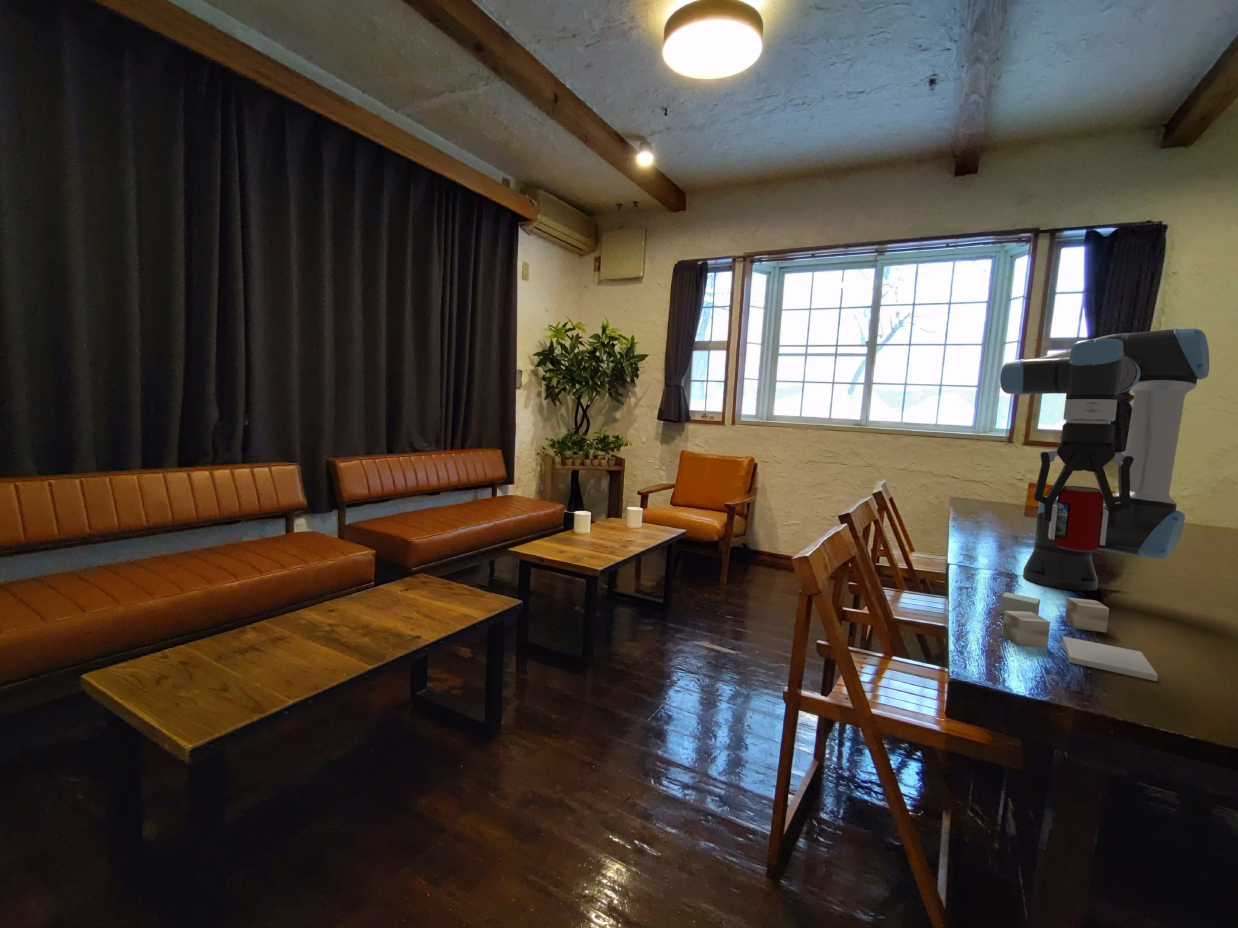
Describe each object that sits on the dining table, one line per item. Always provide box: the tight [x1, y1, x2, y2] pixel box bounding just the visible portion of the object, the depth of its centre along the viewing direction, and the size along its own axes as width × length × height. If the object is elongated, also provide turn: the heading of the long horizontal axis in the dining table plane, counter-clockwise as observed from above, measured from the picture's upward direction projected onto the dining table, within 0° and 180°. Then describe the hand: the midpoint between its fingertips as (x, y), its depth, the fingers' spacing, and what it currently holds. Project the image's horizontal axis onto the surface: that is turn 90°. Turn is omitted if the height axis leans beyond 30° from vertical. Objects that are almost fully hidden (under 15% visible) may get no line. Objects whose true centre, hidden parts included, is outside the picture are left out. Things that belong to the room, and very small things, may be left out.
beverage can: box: [1053, 485, 1104, 552], centre depth 105 cm, size 7×7×12 cm
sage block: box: [1000, 591, 1041, 616], centre depth 117 cm, size 4×6×4 cm, turn 44°
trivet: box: [1061, 635, 1159, 682], centre depth 95 cm, size 11×11×1 cm
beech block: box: [1064, 596, 1110, 633], centre depth 111 cm, size 5×5×5 cm
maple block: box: [1002, 611, 1051, 649], centre depth 102 cm, size 5×5×5 cm
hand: (1075, 540), depth 105 cm, fingers closed on beverage can, 7 cm apart
